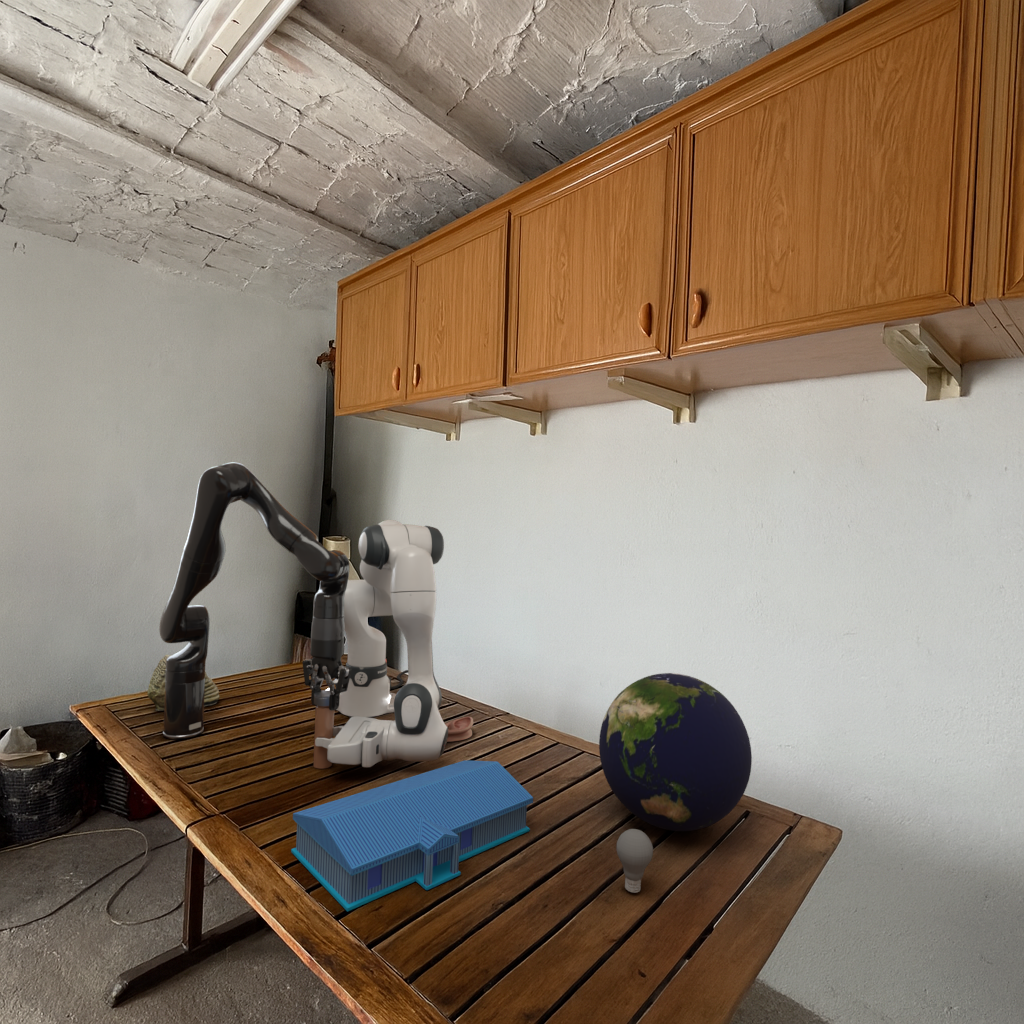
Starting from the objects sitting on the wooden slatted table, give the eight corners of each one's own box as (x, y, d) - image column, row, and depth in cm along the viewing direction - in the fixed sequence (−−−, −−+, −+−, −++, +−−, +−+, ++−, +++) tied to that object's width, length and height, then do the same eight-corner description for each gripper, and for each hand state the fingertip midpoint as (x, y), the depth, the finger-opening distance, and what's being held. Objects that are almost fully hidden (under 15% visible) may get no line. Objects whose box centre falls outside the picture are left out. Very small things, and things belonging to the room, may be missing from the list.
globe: (578, 839, 121) (585, 683, 120) (614, 778, 149) (620, 651, 148) (744, 881, 110) (753, 709, 109) (749, 806, 137) (756, 669, 137)
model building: (357, 922, 95) (360, 856, 95) (289, 850, 113) (292, 795, 113) (542, 837, 121) (544, 785, 121) (463, 790, 139) (465, 745, 139)
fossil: (144, 707, 182) (145, 655, 182) (212, 696, 194) (213, 647, 194) (151, 716, 175) (153, 662, 175) (221, 703, 188) (223, 653, 188)
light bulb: (610, 879, 108) (613, 822, 108) (644, 879, 109) (647, 822, 109) (619, 902, 102) (622, 840, 102) (655, 901, 103) (658, 840, 103)
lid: (309, 704, 147) (309, 695, 147) (321, 698, 152) (322, 689, 152) (328, 707, 146) (329, 697, 146) (340, 700, 151) (341, 691, 151)
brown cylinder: (330, 760, 152) (332, 693, 152) (333, 767, 148) (336, 698, 148) (311, 762, 150) (314, 695, 150) (315, 769, 147) (317, 700, 146)
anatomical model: (417, 724, 167) (431, 710, 178) (416, 739, 167) (430, 724, 178) (465, 730, 164) (477, 715, 176) (465, 745, 165) (476, 730, 176)
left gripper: (293, 633, 149) (291, 705, 150) (338, 642, 142) (335, 717, 142) (318, 628, 156) (315, 697, 156) (361, 637, 149) (358, 709, 149)
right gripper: (388, 711, 159) (333, 708, 160) (368, 742, 139) (305, 739, 139) (387, 736, 160) (332, 733, 160) (367, 771, 139) (304, 767, 139)
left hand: (324, 706), depth 149 cm, fingers closed on lid, 5 cm apart
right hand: (320, 736), depth 149 cm, fingers closed on brown cylinder, 4 cm apart
